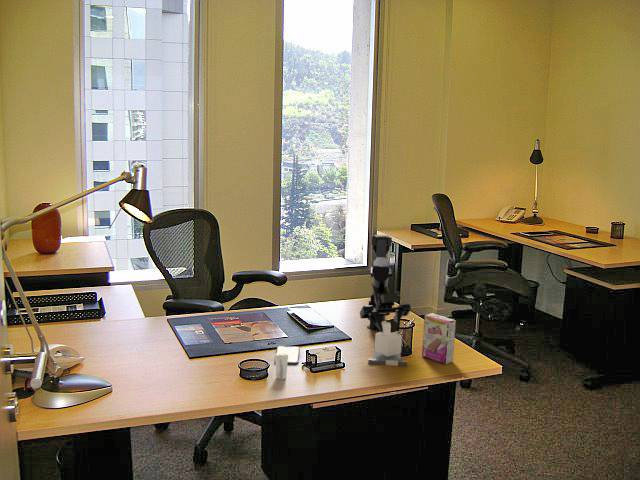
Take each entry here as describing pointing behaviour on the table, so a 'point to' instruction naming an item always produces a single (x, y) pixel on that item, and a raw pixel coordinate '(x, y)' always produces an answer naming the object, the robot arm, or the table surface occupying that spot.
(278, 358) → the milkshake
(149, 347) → the table surface
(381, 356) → the slate mat
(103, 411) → the table surface
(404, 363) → the marker pen
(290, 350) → the phone case
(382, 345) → the medicine bottle
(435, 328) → the candy bar box
